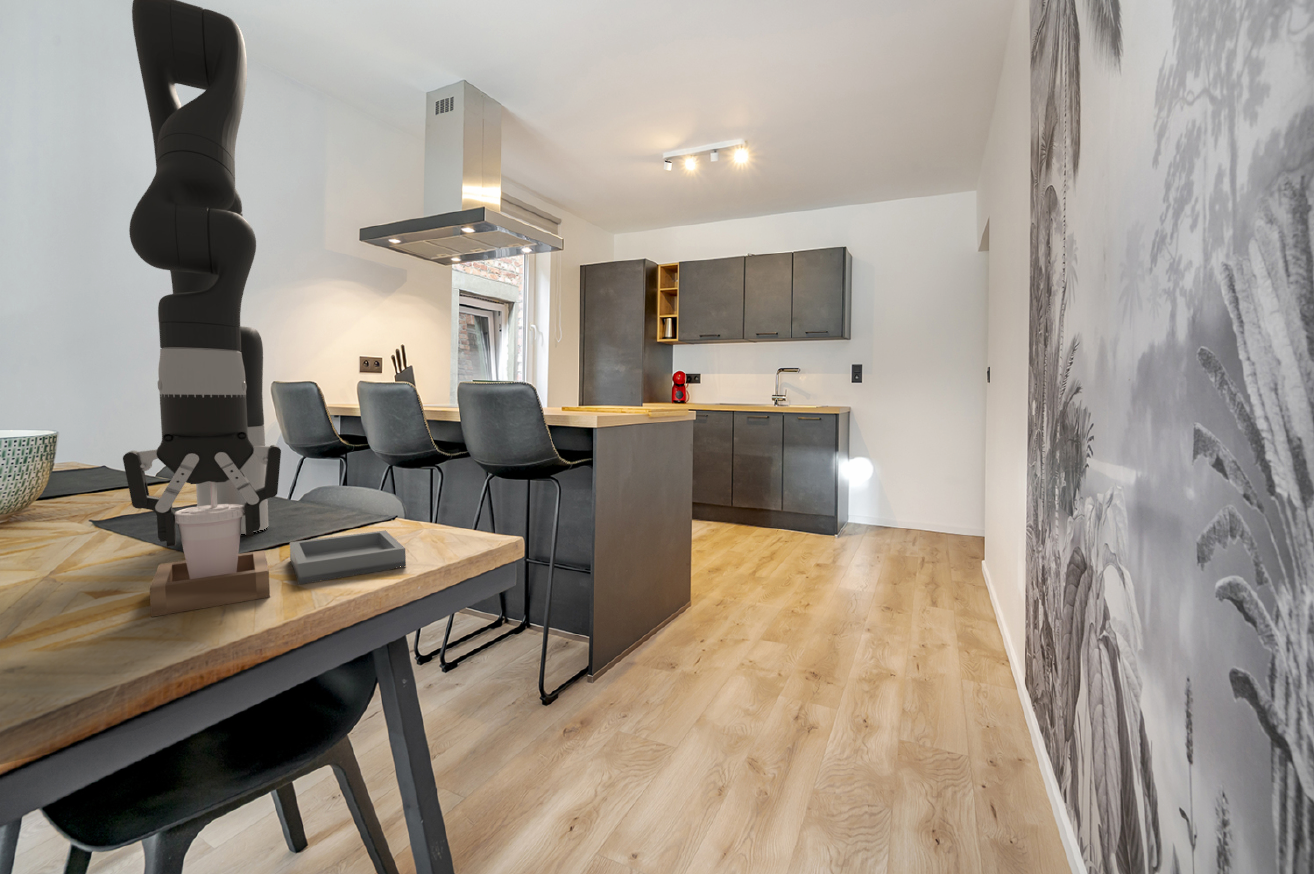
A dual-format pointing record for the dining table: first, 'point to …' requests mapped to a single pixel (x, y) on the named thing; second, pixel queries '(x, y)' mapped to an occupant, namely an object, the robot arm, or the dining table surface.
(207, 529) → the smoothie
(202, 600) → the holder
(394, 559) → the tray
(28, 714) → the dining table surface
